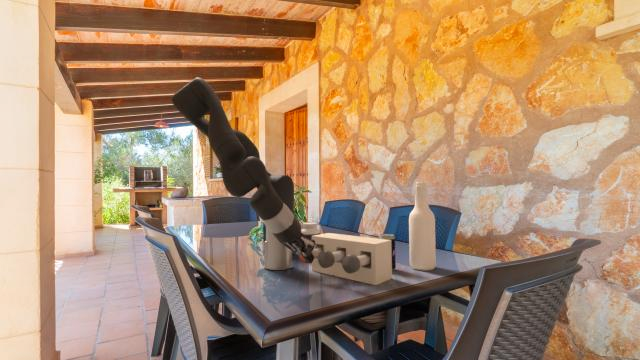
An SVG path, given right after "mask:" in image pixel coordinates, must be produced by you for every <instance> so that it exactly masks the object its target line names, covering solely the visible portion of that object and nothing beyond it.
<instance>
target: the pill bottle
mask: <svg viewBox="0 0 640 360" xmlns="http://www.w3.org/2000/svg"><path fill="white" fill-rule="evenodd" d="M317 226H318V223H317V222H315V221H314V222H311V221H310V222H303V223H302V227H303V228H301V233H303V234H304V235H305V236H306V239H307V240H309V241H310V240H312V236H314V235H319V234H321V230H320V229H319V228H317Z"/></svg>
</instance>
